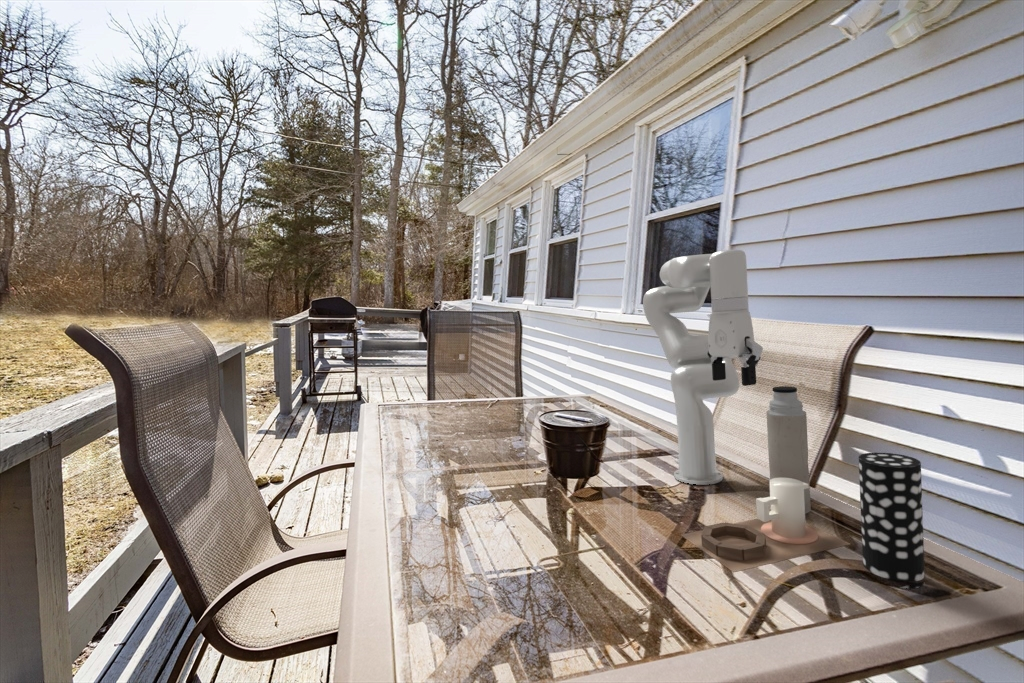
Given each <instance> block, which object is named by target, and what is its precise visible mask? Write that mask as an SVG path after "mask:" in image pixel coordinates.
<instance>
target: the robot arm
mask: <svg viewBox="0 0 1024 683" xmlns="http://www.w3.org/2000/svg"><path fill="white" fill-rule="evenodd" d="M747 268H748V266H747V255H746V252H745V251H744V250H743V249H725V250H720V251H716V252H715V251H714V252H713V253H705V254H693V255H684V256H683V255H682V256H678V257H674V258H671V259H670V260H668V261H666V262H664V263H663V265H662V266H661V268H660V271H659V278H660V281H661V282H662V283H663V284H664V285H663V286H658V287H653V288H650V289H649V290H648V291H646V292H645V293H644V295H643V299H642V307H643V312H644V316H645V319H646V321H647V322H648V324H649V325H650V327H651V329H652V330H653V331H654V332H655V334H656V335H657V338H658V339H659V342H660V345H661V347H662V349H663V352H664V355H665V358H666V360H667V362H668V364H669V366H670V367H672V368H673V369H674V370H673V371H672V373H671V376H670V384H671V385H670V386H671V389H672V394H673V398H674V404H675V412H676V413H675V414H676V415H675V416H676V426H677V427H676V428H677V443H678V444H677V445H678V458H675V459H674V462H675V463H676V464H678V469H676V470H675V471H674V472H673V476H675V477H674V479H675V478H676V479H675V480H676V481H678V480H679V481H678V482H680V481H681V483H683V482H684V483H683V484H687V483H689V484H688V485H693V484H696V485H695V486H708V485H709V484H710V485H714V484H715V485H716V484H718V483H721V482H722V480H723V473H722V472H721V471H719V470H717V464H716V463H717V462H716V461H717V460H716V445H715V444H716V443H715V442H716V441H715V426H714V416H713V413H712V411H711V409H710V408H709V407H708V406H707V405H706V404H705V403H704V400H707V399H716V398H717V399H718V398H727V397H732V396H734V395H735V394H736V393H738V391H739V387H740V379H739V375H738V372H737V370H736V367H735V365H734V363H733V361H732V359H737V358H738V359H739V362H740V363H741V364H742V366H741V368H740V371H741V374H740V375H741V385H742V386H744V387H745V386H746V387H747V386H754V385H756V384H757V371H756V368H757V367H758V365H759V364H758V363H759V362H760V360H761V355H762V353H763V350H764V348H763V346H762V345H761V344H759V343H758V342H756V341H755V335H754V327H753V321H752V317H751V313H750V311H749V308H750V307H749V292H748V291H749V288H748V271H747ZM709 290H710V300H711V313H710V315H709V320H708V321H709V322H708V333H707V334H704V335H703V334H701V335H700V334H699V335H691V334H690V332H689V331H688V328H687V326H686V325H685V324H684V322H682V321H681V320H680V319H679V318H677V317H676V316H674V315H672V314H678V313H692V312H696V311H699V310H700V309H701V308H702V307H703V305H704V303H705V300H706V298H707V296H708V293H709Z"/></svg>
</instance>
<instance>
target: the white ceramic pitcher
mask: <svg viewBox="0 0 1024 683" xmlns="http://www.w3.org/2000/svg"><path fill="white" fill-rule="evenodd" d="M768 481H769V496H767V497H758V498H755V504H756V506H755V507H756V519H759V520H761V521H763V522H768V521H770V520H771V524H772V531H773V532H774V533H775V534H777V535H779V536H782V537H787V538H801V537H804V536H805V535H806V523H807V522H806V513H805V502H804V489H807V488H809V484H806V483H804V482H801V481H799V480H796V479H792V478H773V479H771V480H770V479H769V480H768ZM769 506H770V507H769Z"/></svg>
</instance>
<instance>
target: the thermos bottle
mask: <svg viewBox="0 0 1024 683" xmlns="http://www.w3.org/2000/svg"><path fill="white" fill-rule="evenodd" d="M772 391H773V394H772V396H773V397H772V399H771V400H770V401H769V406H768V408H769V409H768V410H766V427H767V428H766V429H767V430H766V431H767V449H768V450H767V451H768V465H769V468H768V469H769V481H770V480H771V479H773V478H792V479H796V480H799V481H801V482H804V483H806V484H809V488H807V489H804V502H805V514H808V513H810V512H811V510H812V508H811V486H810V470H809V444H808V441H809V440H808V423H807V422H808V420H807V417H808V416H807V412H806V411H805V410H803V407H804V404H803V401H801V400H799V398H798V393H797V392H798V388H797V387H796V386H787V385H784V386H774V387H772Z"/></svg>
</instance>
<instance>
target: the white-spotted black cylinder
mask: <svg viewBox="0 0 1024 683" xmlns="http://www.w3.org/2000/svg"><path fill="white" fill-rule="evenodd" d="M858 472H859V473H858V479H859V496H860V497H859V498H860V499H859V500H860V502H859V503H860V522H861V523H860V525H861V530H860V531H861V552H862V553H861V554H862V565H863V567H864V568H865V569H866V570H867V571H868V572H869V573H872V574H874V575H875V576H878V577H881V578H884V579H888V580H891V581H894V582H895V581H897V582H902V583H903V582H904V583H905V582H906V583H911V584H908V585H904V586H900V587H899V589H906V588H907V589H909V588H910V589H911V588H912V589H917V588H918V589H919V588H921V587H923V586H924V585H925V582H926V581H925V580H924V578H925V575H926V574H925V548H924V547H925V546H924V520H923V518H924V517H923V492H922V491H923V490H922V489H923V487H922V486H923V485H922V462H921V461H920V460H919V459H918V458H914V457H913V456H912V457H911V456H908V455H904V454H900V453H899V454H898V453H893V452H892V453H891V452H866V453H862V454H860V455H858ZM921 580H922V581H921ZM913 582H915V583H913ZM907 589H906V590H907ZM910 589H909V590H910Z"/></svg>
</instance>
